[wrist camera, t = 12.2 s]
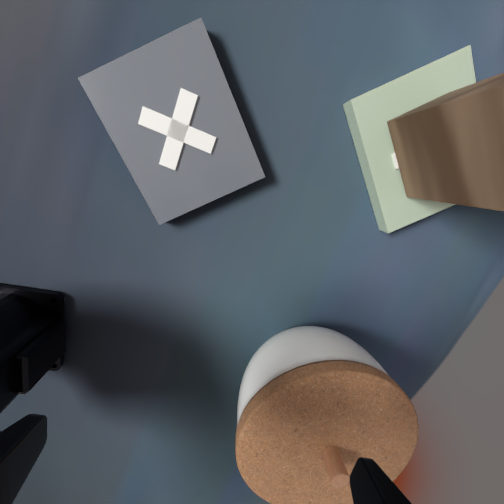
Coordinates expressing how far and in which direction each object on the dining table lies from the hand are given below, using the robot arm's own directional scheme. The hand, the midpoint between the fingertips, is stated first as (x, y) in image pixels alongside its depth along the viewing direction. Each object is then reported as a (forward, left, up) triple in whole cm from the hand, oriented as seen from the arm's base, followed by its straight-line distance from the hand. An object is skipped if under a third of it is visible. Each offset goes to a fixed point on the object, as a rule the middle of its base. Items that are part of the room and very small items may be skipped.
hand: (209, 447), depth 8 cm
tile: (-4, +9, -13) cm, 16 cm away
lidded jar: (+7, -6, -13) cm, 16 cm away
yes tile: (+11, +11, -13) cm, 21 cm away
